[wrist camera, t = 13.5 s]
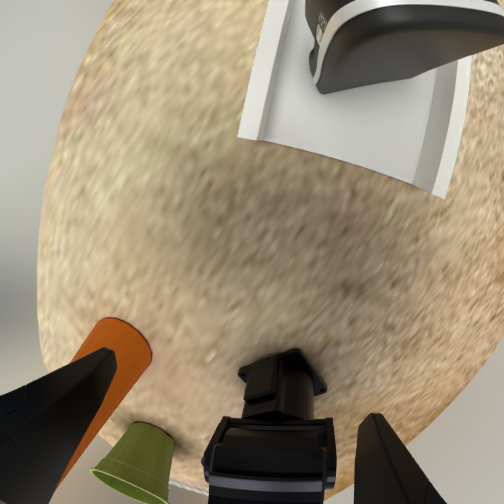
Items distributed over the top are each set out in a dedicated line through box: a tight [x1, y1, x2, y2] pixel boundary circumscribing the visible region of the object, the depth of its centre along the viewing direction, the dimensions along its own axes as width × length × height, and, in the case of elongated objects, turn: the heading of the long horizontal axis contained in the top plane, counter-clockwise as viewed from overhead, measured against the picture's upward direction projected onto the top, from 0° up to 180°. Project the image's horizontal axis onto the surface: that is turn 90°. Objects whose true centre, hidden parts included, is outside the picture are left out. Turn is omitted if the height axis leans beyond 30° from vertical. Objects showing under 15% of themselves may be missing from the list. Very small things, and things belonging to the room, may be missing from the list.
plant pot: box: [89, 422, 175, 504], centre depth 29 cm, size 12×12×11 cm
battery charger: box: [305, 0, 504, 94], centre depth 8 cm, size 7×4×11 cm, turn 109°
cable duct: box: [237, 0, 472, 199], centre depth 12 cm, size 14×12×4 cm
